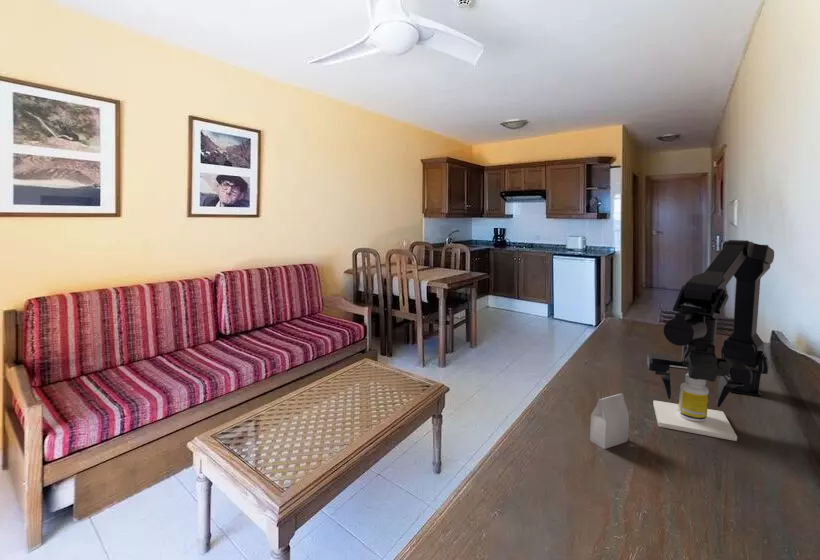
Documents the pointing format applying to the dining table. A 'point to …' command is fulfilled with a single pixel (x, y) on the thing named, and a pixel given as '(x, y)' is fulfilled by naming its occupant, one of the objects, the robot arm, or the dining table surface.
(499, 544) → the dining table surface
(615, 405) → the milk carton
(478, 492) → the dining table surface
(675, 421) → the ceramic tile
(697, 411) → the supplement bottle
